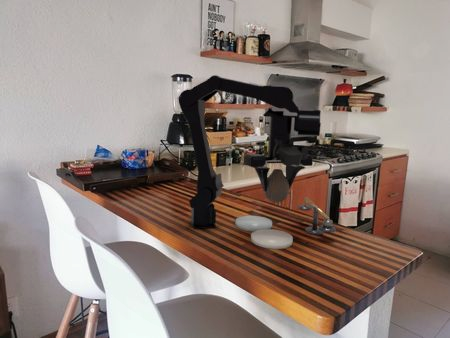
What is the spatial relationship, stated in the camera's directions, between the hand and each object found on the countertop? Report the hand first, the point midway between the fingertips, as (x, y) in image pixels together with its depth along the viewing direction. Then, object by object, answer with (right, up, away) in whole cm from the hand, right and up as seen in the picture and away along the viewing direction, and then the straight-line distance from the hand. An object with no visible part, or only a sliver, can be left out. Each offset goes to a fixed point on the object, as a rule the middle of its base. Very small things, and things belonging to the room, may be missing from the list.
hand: (276, 190), depth 94 cm
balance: (+11, -12, +4) cm, 17 cm away
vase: (0, -3, +1) cm, 3 cm away
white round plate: (-6, -11, +8) cm, 15 cm away
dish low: (-2, -13, -4) cm, 14 cm away
